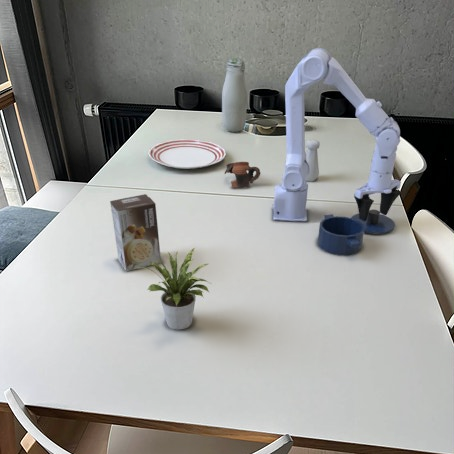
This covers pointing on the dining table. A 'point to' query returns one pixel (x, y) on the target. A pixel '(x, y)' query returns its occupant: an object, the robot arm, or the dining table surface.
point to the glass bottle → (234, 96)
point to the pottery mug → (242, 174)
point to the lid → (376, 222)
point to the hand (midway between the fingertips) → (373, 216)
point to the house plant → (178, 292)
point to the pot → (340, 235)
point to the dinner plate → (187, 153)
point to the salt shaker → (312, 159)
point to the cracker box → (136, 231)
